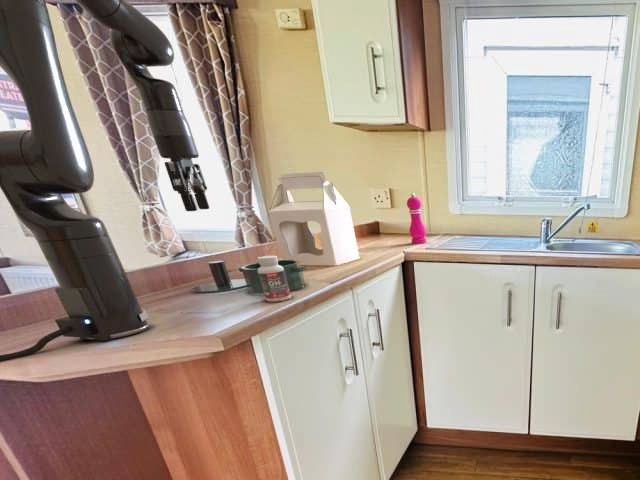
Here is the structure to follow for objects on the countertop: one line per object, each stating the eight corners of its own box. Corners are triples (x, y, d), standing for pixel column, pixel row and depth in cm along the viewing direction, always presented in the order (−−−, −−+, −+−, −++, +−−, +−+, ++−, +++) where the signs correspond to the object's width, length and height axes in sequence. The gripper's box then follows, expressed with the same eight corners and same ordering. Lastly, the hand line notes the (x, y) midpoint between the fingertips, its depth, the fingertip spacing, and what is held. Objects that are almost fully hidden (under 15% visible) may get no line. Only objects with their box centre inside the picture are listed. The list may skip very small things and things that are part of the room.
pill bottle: (275, 303, 96) (262, 259, 92) (261, 301, 99) (248, 258, 94) (296, 297, 100) (285, 255, 96) (282, 295, 103) (270, 254, 99)
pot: (290, 295, 102) (283, 269, 100) (228, 294, 107) (219, 269, 104) (324, 283, 114) (318, 259, 111) (267, 282, 118) (260, 259, 115)
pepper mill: (430, 242, 184) (424, 192, 175) (414, 244, 180) (407, 193, 172) (423, 241, 189) (417, 192, 181) (408, 243, 186) (401, 193, 177)
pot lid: (224, 296, 105) (214, 267, 102) (180, 294, 109) (169, 266, 106) (267, 283, 118) (259, 257, 115) (225, 282, 121) (217, 257, 118)
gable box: (282, 265, 145) (257, 174, 133) (309, 258, 156) (288, 174, 144) (336, 266, 139) (316, 171, 127) (360, 259, 150) (343, 171, 138)
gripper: (167, 138, 103) (192, 209, 110) (138, 131, 90) (168, 212, 97) (202, 137, 105) (224, 208, 112) (178, 131, 92) (205, 210, 99)
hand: (198, 210), depth 105 cm, fingers open, 8 cm apart
